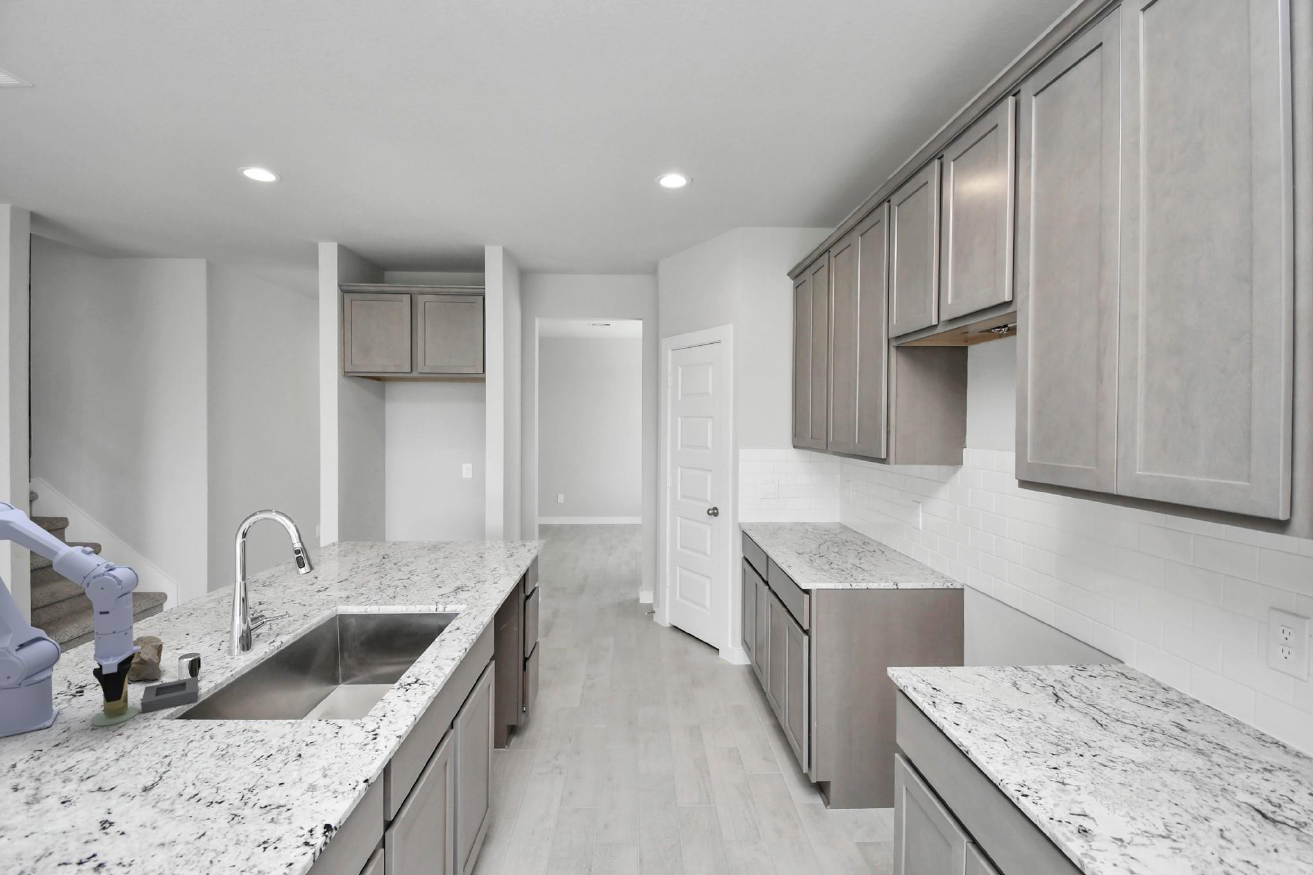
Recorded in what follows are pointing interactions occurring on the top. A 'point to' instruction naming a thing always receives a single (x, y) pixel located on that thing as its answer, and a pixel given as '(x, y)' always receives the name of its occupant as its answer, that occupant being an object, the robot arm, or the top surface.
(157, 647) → the rock
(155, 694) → the housing
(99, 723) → the mat
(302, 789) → the top surface
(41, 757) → the top surface
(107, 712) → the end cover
